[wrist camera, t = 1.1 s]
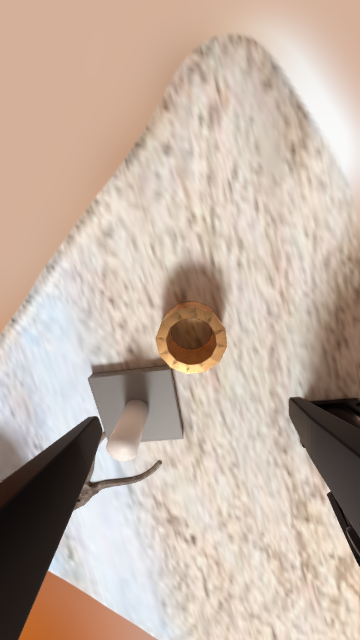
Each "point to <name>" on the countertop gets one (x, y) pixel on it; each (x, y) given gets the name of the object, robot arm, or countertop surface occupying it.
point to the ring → (195, 357)
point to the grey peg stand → (136, 408)
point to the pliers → (107, 482)
